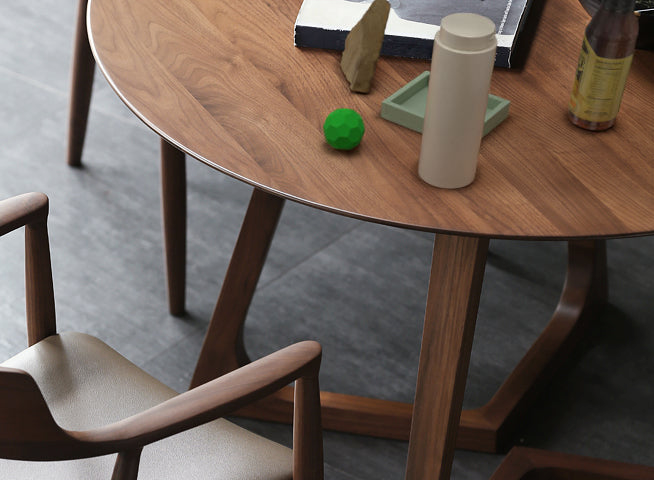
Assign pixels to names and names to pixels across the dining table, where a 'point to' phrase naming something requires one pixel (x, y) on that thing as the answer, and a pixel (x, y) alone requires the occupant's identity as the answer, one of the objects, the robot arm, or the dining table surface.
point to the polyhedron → (344, 129)
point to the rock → (365, 46)
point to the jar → (457, 99)
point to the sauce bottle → (604, 65)
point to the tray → (411, 106)
